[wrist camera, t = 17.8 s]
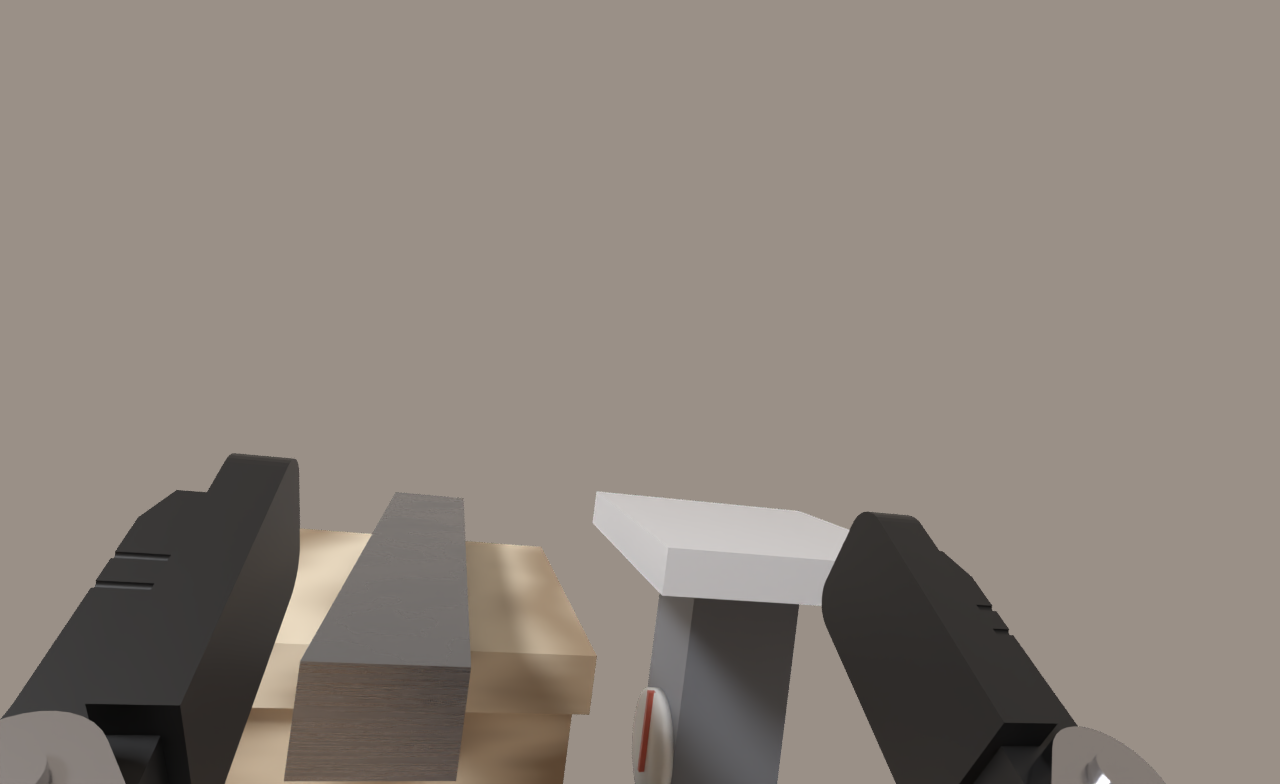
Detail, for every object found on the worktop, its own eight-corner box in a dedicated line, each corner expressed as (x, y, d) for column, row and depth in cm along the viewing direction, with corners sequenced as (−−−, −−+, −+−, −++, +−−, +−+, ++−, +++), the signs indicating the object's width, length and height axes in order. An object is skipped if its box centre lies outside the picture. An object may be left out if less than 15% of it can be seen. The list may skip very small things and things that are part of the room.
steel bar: (457, 544, 39) (463, 498, 39) (456, 781, 16) (470, 667, 16) (389, 539, 38) (395, 492, 38) (283, 781, 15) (300, 660, 15)
